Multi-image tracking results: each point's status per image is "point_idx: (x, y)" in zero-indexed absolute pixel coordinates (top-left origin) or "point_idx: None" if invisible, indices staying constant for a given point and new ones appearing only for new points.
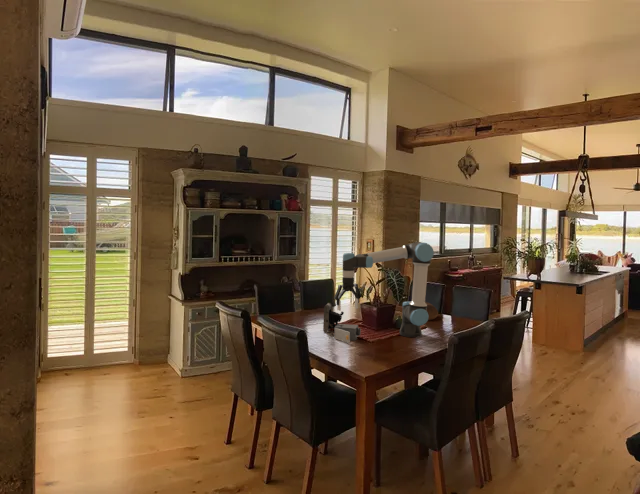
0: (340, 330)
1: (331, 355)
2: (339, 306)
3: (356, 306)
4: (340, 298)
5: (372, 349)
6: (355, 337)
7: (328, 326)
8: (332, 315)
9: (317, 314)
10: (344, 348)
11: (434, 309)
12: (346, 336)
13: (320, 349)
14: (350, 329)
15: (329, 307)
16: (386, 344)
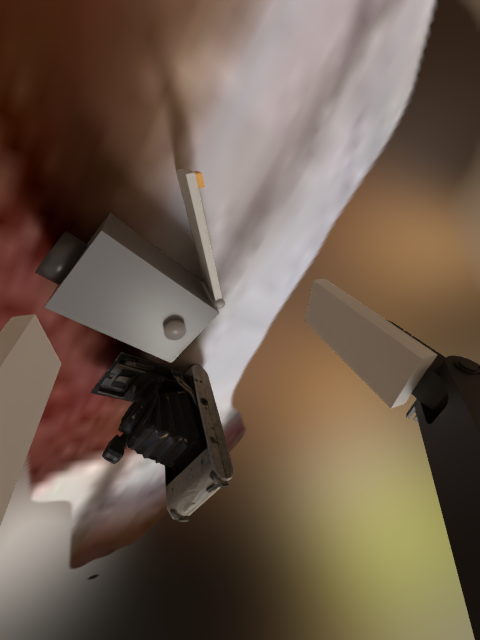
0: (212, 258)
1: (385, 3)
2: (358, 304)
3: (32, 350)
4: (462, 391)
5: None
6: (109, 216)
7: (192, 382)
8: (180, 427)
9: (127, 520)
10: (251, 91)
11: None
12: (202, 182)
13: (348, 158)
14: (139, 253)
15: (203, 472)
16: None
